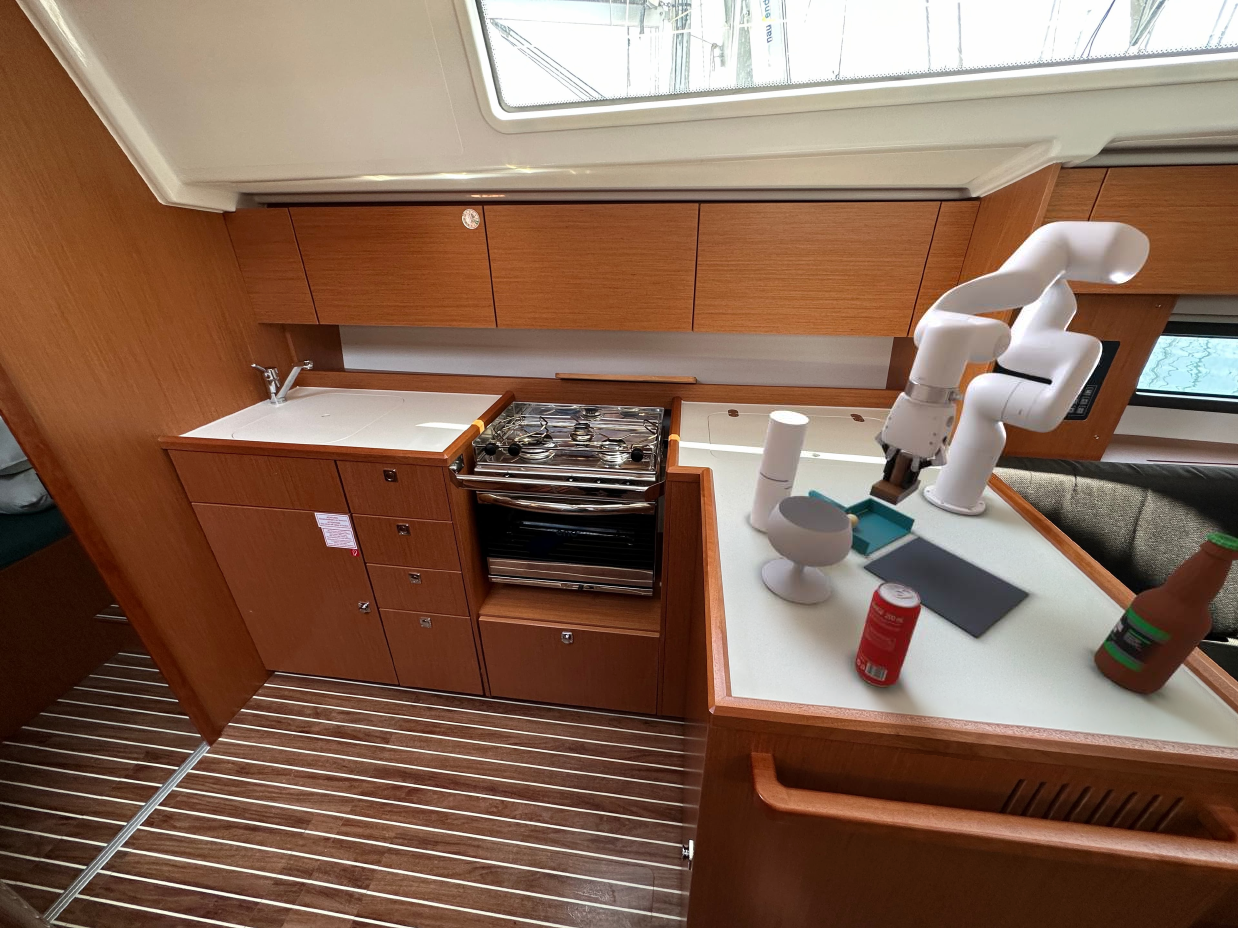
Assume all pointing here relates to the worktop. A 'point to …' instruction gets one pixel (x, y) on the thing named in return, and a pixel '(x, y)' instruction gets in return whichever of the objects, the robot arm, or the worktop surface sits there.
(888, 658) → the beverage can
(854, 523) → the crumb
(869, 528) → the dustpan
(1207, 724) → the worktop surface
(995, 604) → the mat
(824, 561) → the chalice
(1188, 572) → the bottle
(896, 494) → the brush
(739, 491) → the worktop surface
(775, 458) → the cylindrical container
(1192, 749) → the worktop surface
